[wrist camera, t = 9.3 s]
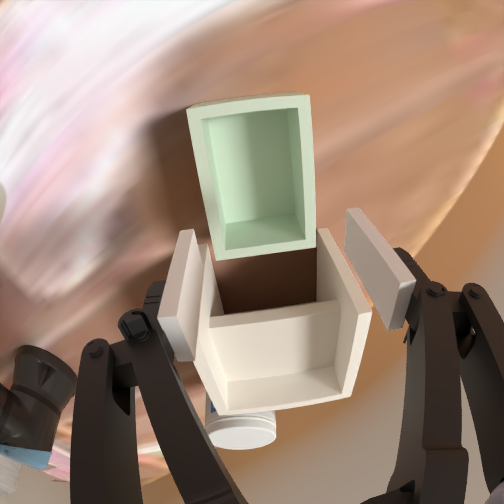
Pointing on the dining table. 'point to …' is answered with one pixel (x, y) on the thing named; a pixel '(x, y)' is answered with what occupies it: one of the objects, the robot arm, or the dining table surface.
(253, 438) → the supplement tub
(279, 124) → the tray
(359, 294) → the box
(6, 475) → the vase
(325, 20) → the dining table surface
